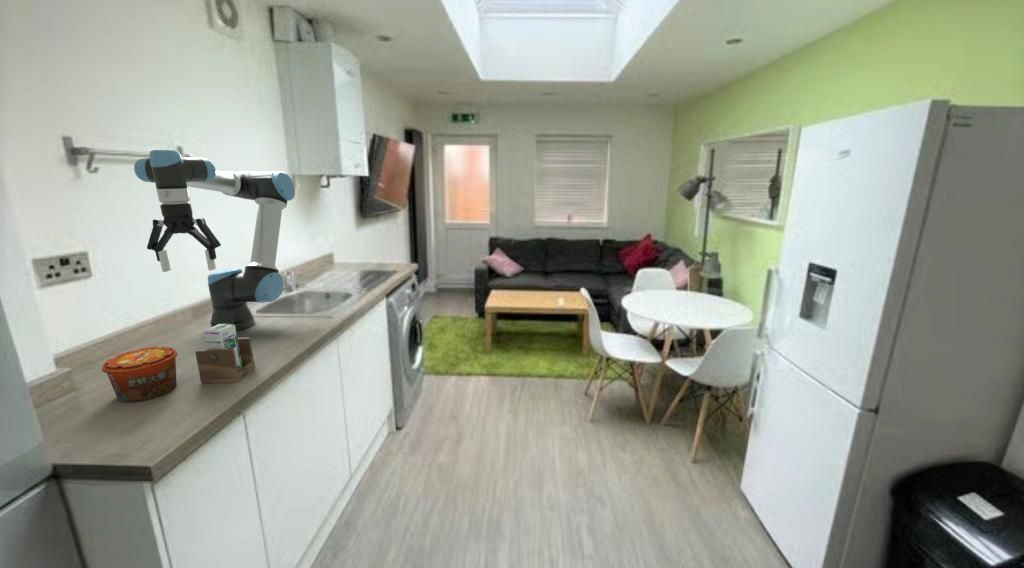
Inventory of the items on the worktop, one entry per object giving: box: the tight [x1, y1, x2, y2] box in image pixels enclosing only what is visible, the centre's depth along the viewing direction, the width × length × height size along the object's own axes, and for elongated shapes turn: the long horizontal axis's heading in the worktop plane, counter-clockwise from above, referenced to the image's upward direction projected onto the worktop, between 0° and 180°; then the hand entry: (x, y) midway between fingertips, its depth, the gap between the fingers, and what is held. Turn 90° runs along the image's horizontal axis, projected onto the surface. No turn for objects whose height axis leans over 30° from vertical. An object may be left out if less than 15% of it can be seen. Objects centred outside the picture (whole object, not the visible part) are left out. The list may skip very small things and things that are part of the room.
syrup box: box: [203, 324, 243, 371], centre depth 129 cm, size 6×6×14 cm
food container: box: [101, 346, 178, 403], centre depth 120 cm, size 16×16×11 cm
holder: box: [194, 336, 256, 384], centre depth 130 cm, size 12×10×10 cm
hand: (189, 270), depth 137 cm, fingers open, 13 cm apart
